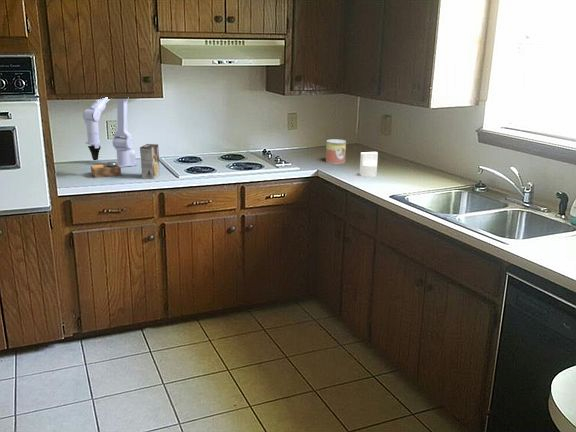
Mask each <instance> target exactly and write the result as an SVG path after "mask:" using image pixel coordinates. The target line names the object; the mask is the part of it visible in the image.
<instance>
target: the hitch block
mask: <svg viewBox="0 0 576 432" xmlns="http://www.w3.org/2000/svg"><path fill="white" fill-rule="evenodd" d="M102 165H103V166H104V168H97V169H93V168H92V166H93V165H91V166H90V172H91V173H90V174H91V175H92V176H93V177H94V178H95V179H97V178H107V177H109V178H110V177H116V176H122V168H121V167H119V166H118V165H117V167H107V164H102Z"/></svg>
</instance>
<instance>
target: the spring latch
mask: <svg viewBox="0 0 576 432" xmlns="http://www.w3.org/2000/svg"><path fill="white" fill-rule="evenodd" d="M103 165H104V164H96V165H95V164H94V165H91V166H92V168H93V169H97V168H104V166H103Z"/></svg>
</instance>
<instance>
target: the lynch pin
mask: <svg viewBox="0 0 576 432" xmlns="http://www.w3.org/2000/svg"><path fill="white" fill-rule="evenodd" d="M106 165H107V167H117V161H113V160H111V161H107V162H106Z"/></svg>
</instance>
